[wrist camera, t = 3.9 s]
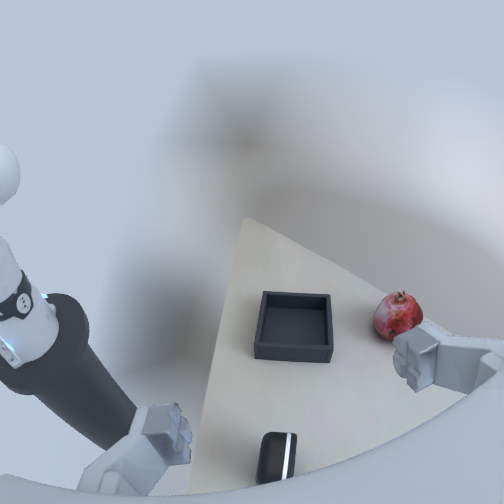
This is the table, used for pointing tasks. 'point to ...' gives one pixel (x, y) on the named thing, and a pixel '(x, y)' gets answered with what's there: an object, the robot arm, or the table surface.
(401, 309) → the fruit
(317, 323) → the tote
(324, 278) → the table surface
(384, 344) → the table surface
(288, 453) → the battery charger
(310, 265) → the table surface
